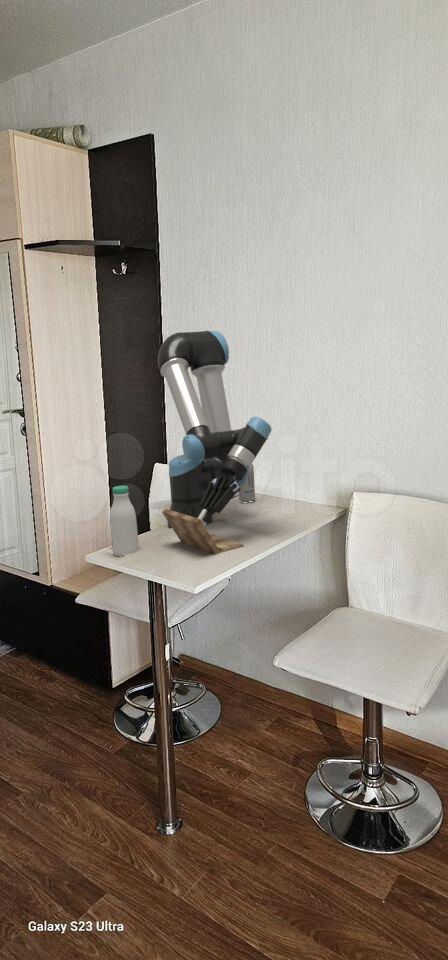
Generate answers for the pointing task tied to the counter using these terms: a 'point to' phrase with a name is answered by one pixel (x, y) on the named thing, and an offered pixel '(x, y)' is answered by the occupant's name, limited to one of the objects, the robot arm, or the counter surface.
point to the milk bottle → (123, 523)
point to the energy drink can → (248, 487)
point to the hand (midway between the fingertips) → (196, 530)
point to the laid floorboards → (225, 543)
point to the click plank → (190, 531)
